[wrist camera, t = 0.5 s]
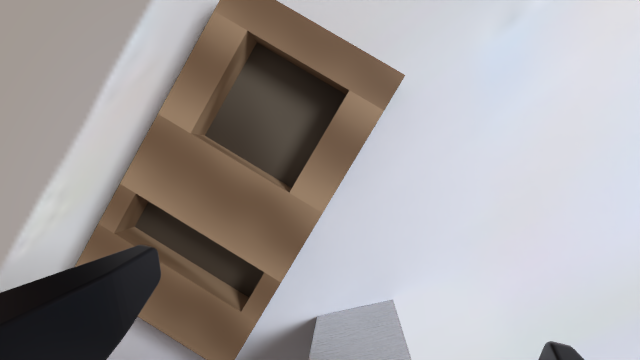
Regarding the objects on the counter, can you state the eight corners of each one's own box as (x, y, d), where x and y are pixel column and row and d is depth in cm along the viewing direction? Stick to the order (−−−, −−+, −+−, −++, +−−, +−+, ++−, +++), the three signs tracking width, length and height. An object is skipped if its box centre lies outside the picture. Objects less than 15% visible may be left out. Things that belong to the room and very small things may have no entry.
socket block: (240, 349, 23) (226, 372, 21) (100, 262, 24) (70, 274, 21) (398, 84, 22) (405, 75, 19) (246, -4, 22) (233, -25, 20)
